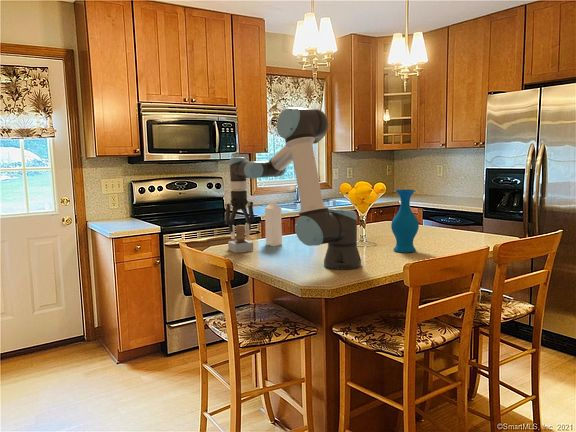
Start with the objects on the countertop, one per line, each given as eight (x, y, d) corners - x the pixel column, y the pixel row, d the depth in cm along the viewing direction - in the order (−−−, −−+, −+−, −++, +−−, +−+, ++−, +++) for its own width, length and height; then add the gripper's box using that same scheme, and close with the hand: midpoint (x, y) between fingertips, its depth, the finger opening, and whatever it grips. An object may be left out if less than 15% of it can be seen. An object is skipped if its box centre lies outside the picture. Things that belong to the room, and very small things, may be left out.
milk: (272, 246, 234) (271, 202, 231) (265, 244, 239) (264, 201, 236) (282, 244, 238) (281, 201, 234) (275, 243, 242) (274, 200, 239)
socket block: (253, 250, 225) (253, 242, 224) (236, 252, 220) (235, 244, 220) (245, 247, 232) (245, 239, 232) (228, 249, 228) (228, 241, 227)
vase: (423, 250, 217) (424, 190, 213) (408, 255, 208) (409, 192, 204) (401, 247, 225) (401, 188, 222) (385, 251, 217) (386, 190, 213)
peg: (246, 250, 226) (245, 225, 224) (238, 251, 224) (238, 226, 222) (242, 249, 229) (242, 224, 227) (235, 249, 227) (234, 225, 225)
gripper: (254, 188, 231) (255, 234, 234) (216, 190, 221) (218, 239, 224) (261, 189, 224) (262, 236, 227) (222, 191, 214) (224, 241, 217)
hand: (240, 237), depth 225 cm, fingers open, 7 cm apart
